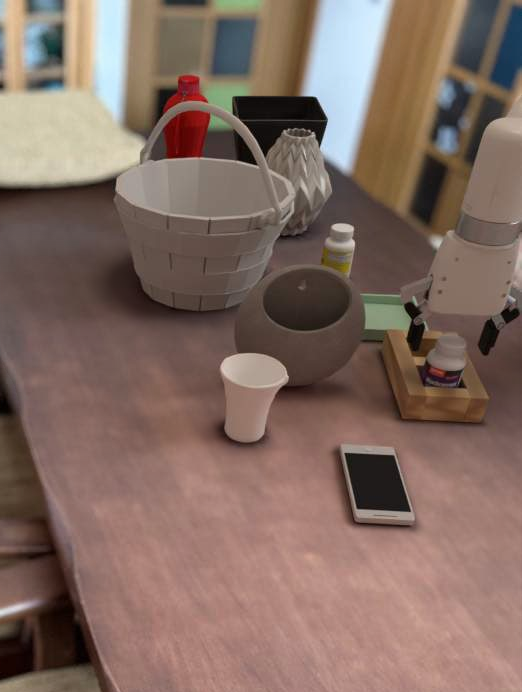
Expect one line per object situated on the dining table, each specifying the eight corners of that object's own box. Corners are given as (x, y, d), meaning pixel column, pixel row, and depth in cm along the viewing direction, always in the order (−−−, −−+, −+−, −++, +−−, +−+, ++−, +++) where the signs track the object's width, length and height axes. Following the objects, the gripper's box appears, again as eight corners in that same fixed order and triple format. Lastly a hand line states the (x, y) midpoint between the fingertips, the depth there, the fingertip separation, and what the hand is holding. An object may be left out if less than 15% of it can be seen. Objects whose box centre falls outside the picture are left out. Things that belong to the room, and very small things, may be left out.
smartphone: (392, 451, 111) (393, 445, 111) (414, 525, 100) (416, 519, 99) (338, 448, 112) (340, 443, 111) (354, 522, 100) (356, 516, 100)
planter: (229, 395, 122) (243, 273, 109) (226, 370, 127) (240, 252, 114) (354, 399, 121) (383, 278, 109) (347, 374, 126) (374, 256, 114)
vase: (238, 238, 166) (249, 140, 154) (254, 210, 178) (265, 117, 165) (319, 249, 162) (336, 149, 150) (329, 220, 174) (347, 125, 162)
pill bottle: (415, 407, 120) (433, 347, 113) (414, 388, 124) (431, 329, 117) (453, 412, 119) (473, 352, 112) (451, 393, 123) (471, 334, 116)
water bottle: (151, 210, 177) (156, 80, 160) (168, 194, 184) (175, 68, 168) (191, 217, 174) (201, 86, 157) (207, 200, 182) (218, 73, 165)
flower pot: (229, 200, 182) (237, 117, 171) (224, 172, 196) (231, 94, 185) (315, 202, 181) (329, 120, 170) (304, 174, 196) (316, 96, 184)
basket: (198, 235, 167) (211, 69, 147) (328, 299, 146) (364, 115, 126) (72, 272, 153) (68, 94, 133) (196, 348, 132) (213, 150, 112)
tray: (411, 306, 144) (414, 295, 143) (427, 343, 134) (430, 331, 133) (312, 301, 145) (314, 291, 144) (320, 337, 135) (323, 326, 134)
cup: (265, 457, 110) (276, 392, 104) (202, 437, 114) (208, 373, 107) (288, 425, 116) (300, 362, 109) (228, 406, 119) (235, 344, 113)
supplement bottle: (324, 271, 155) (333, 219, 148) (351, 278, 153) (363, 225, 146) (313, 282, 151) (323, 229, 145) (342, 289, 149) (353, 235, 143)
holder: (450, 355, 132) (457, 332, 129) (480, 422, 117) (489, 398, 114) (380, 351, 132) (386, 328, 129) (402, 418, 118) (409, 394, 115)
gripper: (547, 220, 107) (502, 340, 118) (412, 213, 107) (381, 332, 119) (566, 242, 101) (517, 366, 113) (424, 235, 102) (390, 358, 113)
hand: (447, 349), depth 116 cm, fingers open, 9 cm apart
